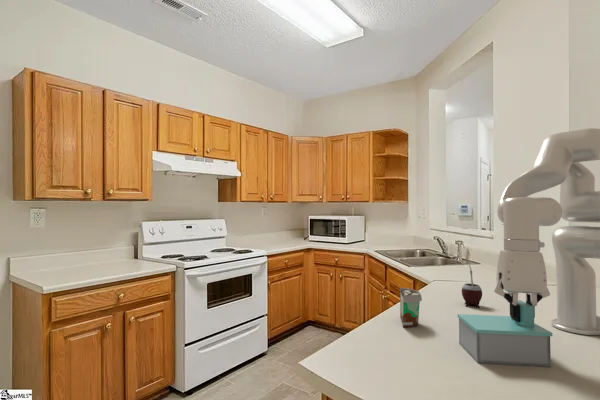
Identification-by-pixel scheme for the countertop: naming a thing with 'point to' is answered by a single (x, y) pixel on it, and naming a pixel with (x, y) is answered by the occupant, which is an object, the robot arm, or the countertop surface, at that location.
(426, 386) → the countertop surface
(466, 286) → the mate gourd
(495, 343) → the tub
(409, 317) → the food container
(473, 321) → the lid
